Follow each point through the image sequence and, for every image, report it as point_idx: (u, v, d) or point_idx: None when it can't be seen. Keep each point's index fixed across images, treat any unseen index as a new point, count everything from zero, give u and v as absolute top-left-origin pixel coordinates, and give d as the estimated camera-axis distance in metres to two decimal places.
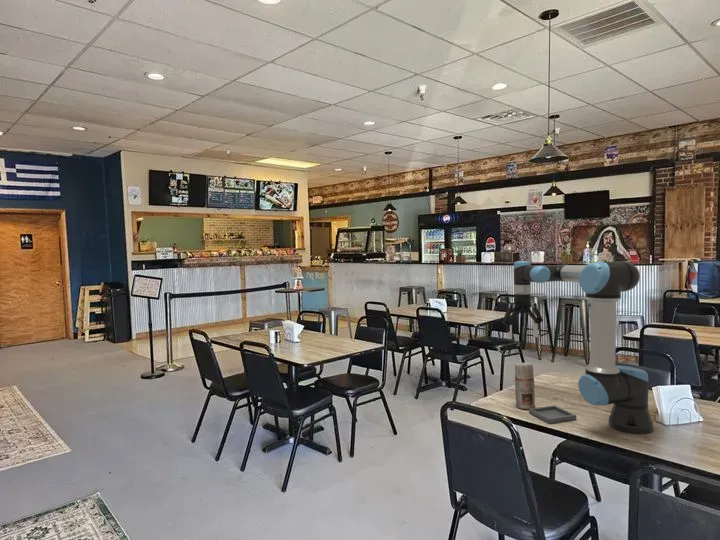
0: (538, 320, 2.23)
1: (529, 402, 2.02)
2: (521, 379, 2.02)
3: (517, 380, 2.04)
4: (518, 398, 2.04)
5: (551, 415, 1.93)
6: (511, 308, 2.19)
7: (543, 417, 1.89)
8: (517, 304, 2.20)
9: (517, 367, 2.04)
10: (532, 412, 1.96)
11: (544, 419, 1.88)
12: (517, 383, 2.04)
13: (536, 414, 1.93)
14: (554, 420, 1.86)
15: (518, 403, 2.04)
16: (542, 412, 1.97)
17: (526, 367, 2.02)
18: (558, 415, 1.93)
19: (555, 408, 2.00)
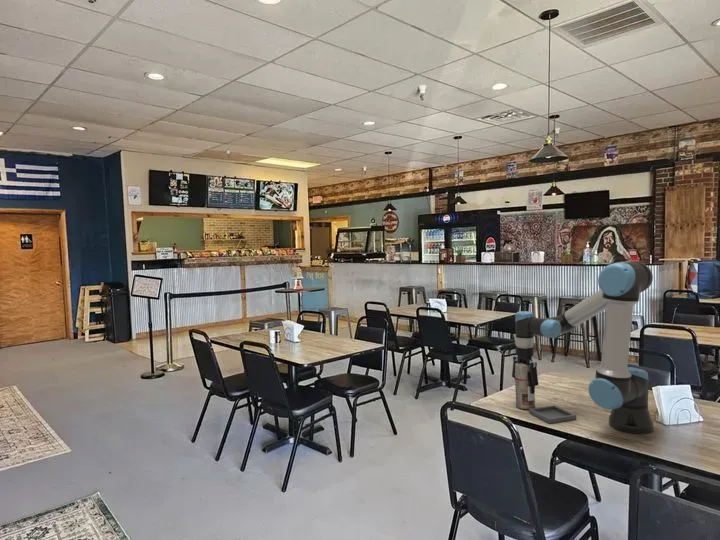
0: (530, 383, 2.00)
1: (529, 402, 2.02)
2: (521, 379, 2.02)
3: (517, 380, 2.04)
4: (518, 398, 2.04)
5: (551, 415, 1.93)
6: (514, 360, 2.11)
7: (543, 417, 1.89)
8: (517, 356, 2.08)
9: (517, 367, 2.04)
10: (532, 412, 1.96)
11: (544, 419, 1.88)
12: (517, 383, 2.04)
13: (536, 414, 1.93)
14: (554, 420, 1.86)
15: (518, 403, 2.04)
16: (542, 412, 1.97)
17: (526, 367, 2.02)
18: (558, 415, 1.93)
19: (555, 408, 2.00)
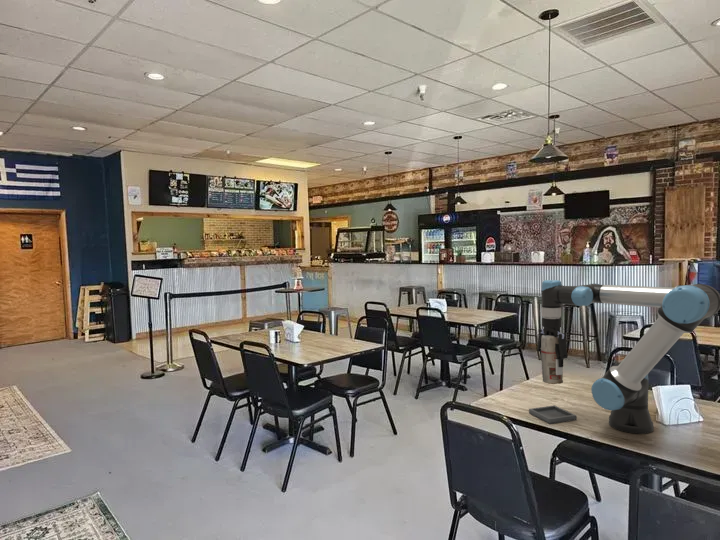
0: (558, 355, 1.87)
1: (557, 376, 1.89)
2: (549, 352, 1.89)
3: (544, 353, 1.91)
4: (545, 372, 1.91)
5: (551, 415, 1.93)
6: (539, 333, 1.98)
7: (543, 417, 1.89)
8: (544, 328, 1.95)
9: (544, 339, 1.91)
10: (532, 412, 1.96)
11: (544, 419, 1.88)
12: (544, 356, 1.91)
13: (536, 414, 1.93)
14: (554, 420, 1.86)
15: (545, 378, 1.91)
16: (542, 412, 1.97)
17: (554, 339, 1.89)
18: (558, 415, 1.93)
19: (555, 408, 2.00)
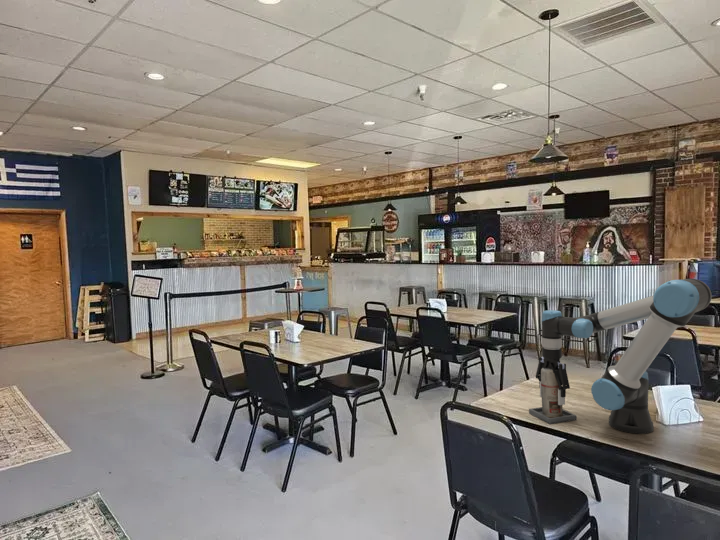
0: (560, 386, 1.86)
1: (557, 410, 1.90)
2: (548, 385, 1.90)
3: (544, 387, 1.92)
4: (545, 406, 1.92)
5: None
6: (539, 361, 1.98)
7: (543, 417, 1.89)
8: (544, 358, 1.95)
9: (544, 373, 1.92)
10: (532, 412, 1.96)
11: (544, 419, 1.88)
12: (544, 390, 1.92)
13: (536, 414, 1.93)
14: (554, 420, 1.86)
15: (545, 411, 1.92)
16: (542, 412, 1.97)
17: None
18: None
19: None
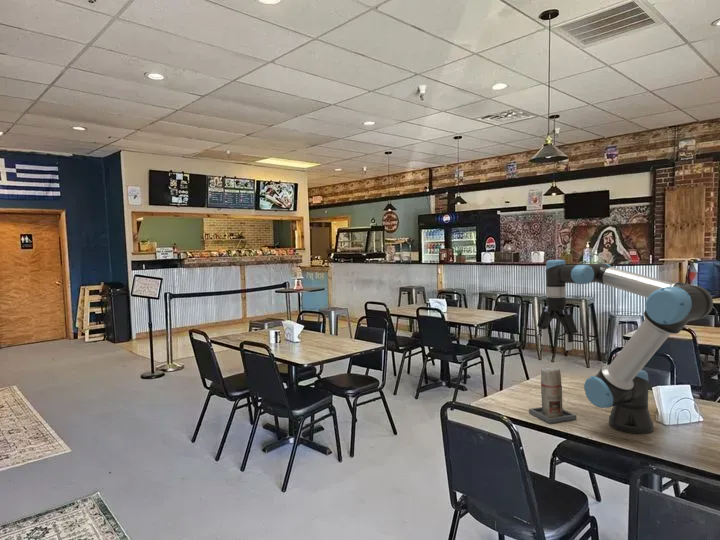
0: (567, 330, 1.88)
1: (557, 410, 1.90)
2: (548, 385, 1.90)
3: (544, 387, 1.92)
4: (545, 406, 1.92)
5: None
6: (542, 311, 2.01)
7: (543, 417, 1.89)
8: (548, 307, 1.98)
9: (544, 373, 1.92)
10: (532, 412, 1.96)
11: (544, 419, 1.88)
12: (544, 390, 1.92)
13: (536, 414, 1.93)
14: (554, 420, 1.86)
15: (545, 411, 1.92)
16: (542, 412, 1.97)
17: (554, 373, 1.90)
18: None
19: None
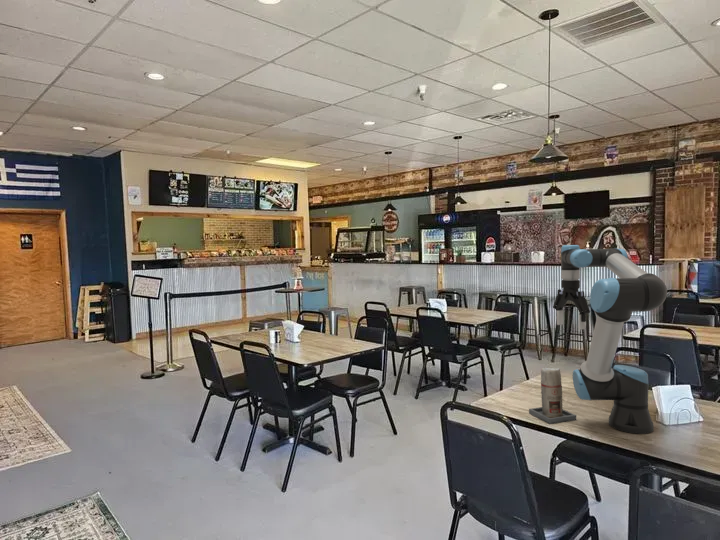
0: (581, 311, 2.00)
1: (557, 410, 1.90)
2: (548, 385, 1.90)
3: (544, 387, 1.92)
4: (545, 406, 1.92)
5: None
6: (558, 293, 2.13)
7: (543, 417, 1.89)
8: (563, 290, 2.10)
9: (544, 373, 1.92)
10: (532, 412, 1.96)
11: (544, 419, 1.88)
12: (544, 390, 1.92)
13: (536, 414, 1.93)
14: (554, 420, 1.86)
15: (545, 411, 1.92)
16: (542, 412, 1.97)
17: (554, 373, 1.89)
18: None
19: None
